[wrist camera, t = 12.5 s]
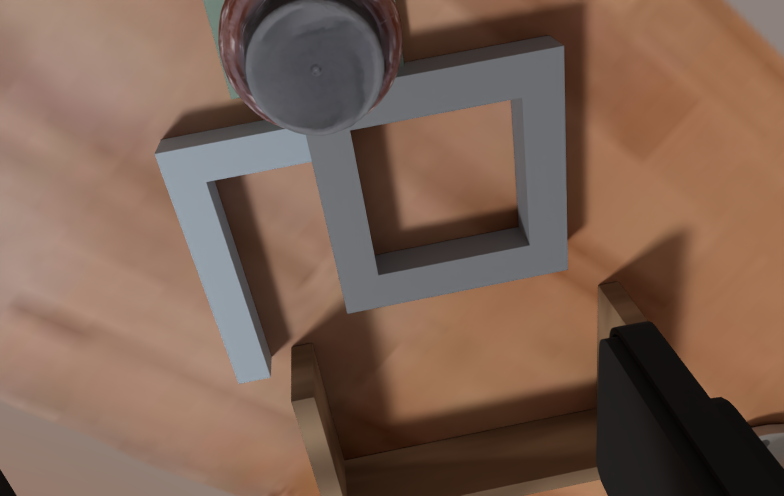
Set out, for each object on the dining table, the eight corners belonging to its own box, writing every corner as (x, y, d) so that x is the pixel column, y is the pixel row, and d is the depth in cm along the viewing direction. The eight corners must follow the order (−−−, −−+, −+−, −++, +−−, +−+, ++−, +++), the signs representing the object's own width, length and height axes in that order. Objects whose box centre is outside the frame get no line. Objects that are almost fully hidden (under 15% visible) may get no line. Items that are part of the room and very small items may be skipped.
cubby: (613, 417, 45) (644, 470, 41) (329, 476, 45) (333, 535, 41) (618, 281, 39) (653, 328, 36) (291, 347, 39) (291, 401, 35)
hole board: (555, 250, 38) (567, 269, 36) (344, 292, 37) (347, 313, 36) (549, 35, 31) (563, 45, 30) (296, 83, 31) (296, 96, 29)
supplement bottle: (203, -30, 28) (158, 33, 18) (325, -113, 27) (348, -94, 17) (287, 90, 31) (287, 201, 21) (399, 19, 30) (454, 100, 20)
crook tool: (356, 339, 39) (358, 359, 38) (241, 362, 39) (238, 383, 37) (303, 112, 32) (303, 125, 30) (161, 139, 32) (154, 154, 30)
